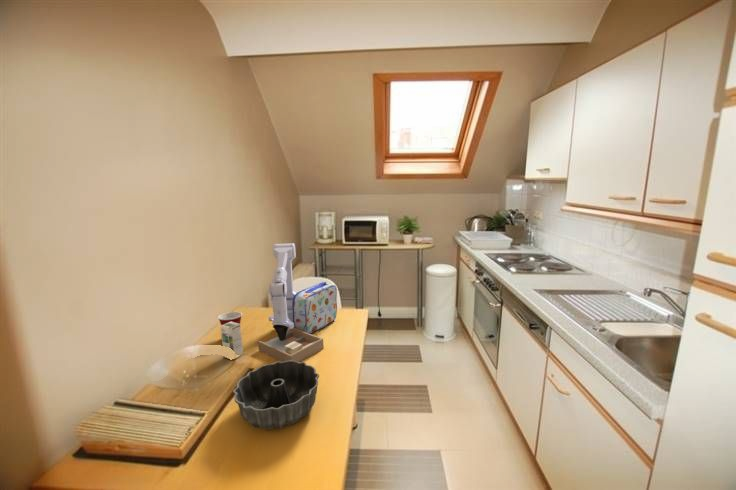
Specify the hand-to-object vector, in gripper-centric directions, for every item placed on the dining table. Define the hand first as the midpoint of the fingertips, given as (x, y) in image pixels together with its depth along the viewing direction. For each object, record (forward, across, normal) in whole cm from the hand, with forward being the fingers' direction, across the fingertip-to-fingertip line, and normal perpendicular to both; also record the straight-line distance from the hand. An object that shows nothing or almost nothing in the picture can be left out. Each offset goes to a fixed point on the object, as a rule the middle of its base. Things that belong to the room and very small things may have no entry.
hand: (282, 339), depth 144 cm
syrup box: (+6, -15, -15) cm, 22 cm away
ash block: (+3, +7, 0) cm, 8 cm away
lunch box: (+6, -7, +27) cm, 29 cm away
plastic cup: (+6, -31, -6) cm, 32 cm away
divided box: (+6, +1, +3) cm, 7 cm away
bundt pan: (+6, +29, -25) cm, 39 cm away
